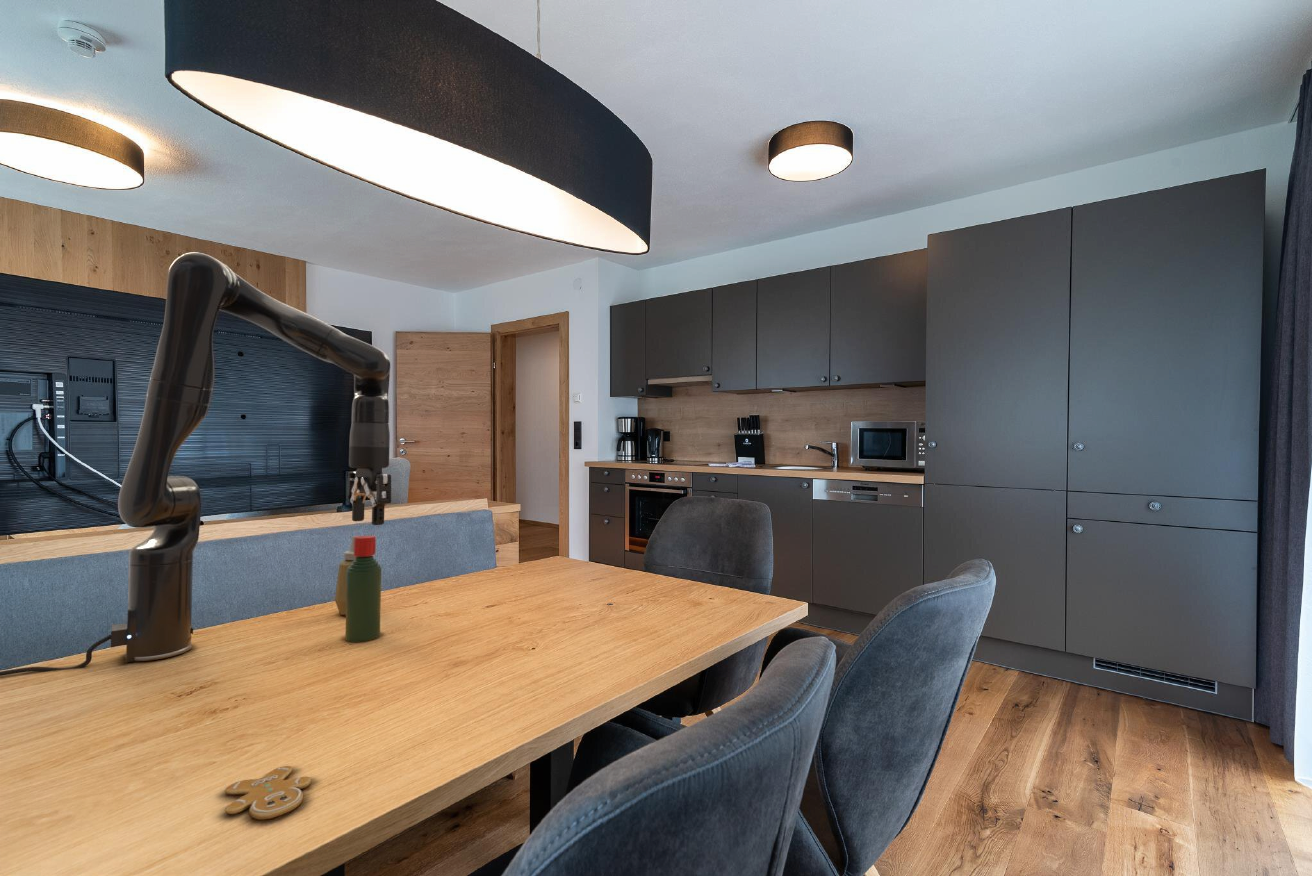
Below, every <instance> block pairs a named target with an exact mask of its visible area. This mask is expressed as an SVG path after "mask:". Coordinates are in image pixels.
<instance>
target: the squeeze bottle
mask: <svg viewBox="0 0 1312 876" xmlns="http://www.w3.org/2000/svg"><path fill="white" fill-rule="evenodd" d="M357 536H358V535H352V538H351V542H350V546H349V548H348V550H346V551H344V552H343V560H342V561H341V562H340V563H339V564H338V572H337V579H336V588H335V595H334V602H335V605H336V607H337V610H338V613H339V614H340V615H342V616H346V583H347V570H348V567H349V566H351V563H353V560H355V558H356V557H358V556H354V537H357Z"/></svg>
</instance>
